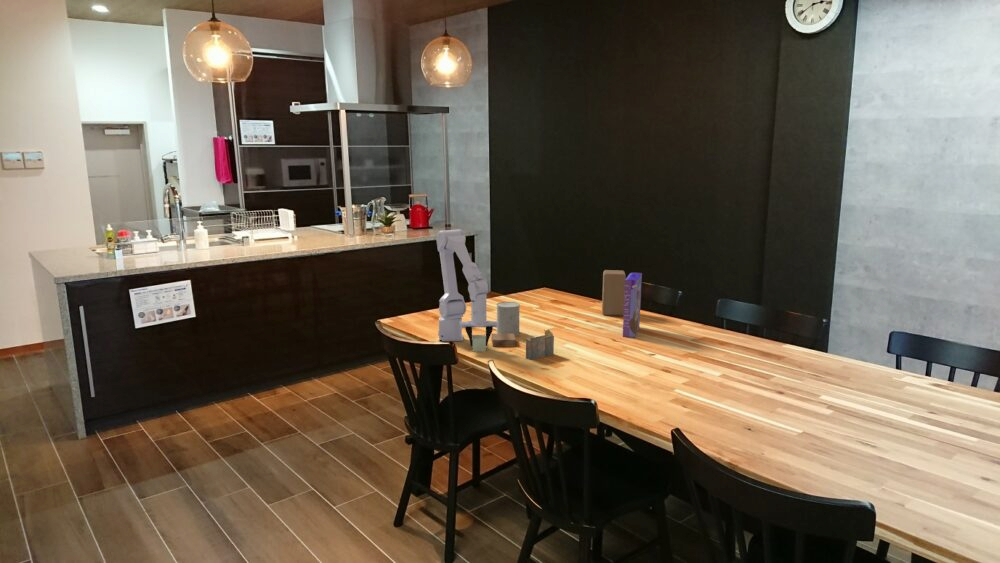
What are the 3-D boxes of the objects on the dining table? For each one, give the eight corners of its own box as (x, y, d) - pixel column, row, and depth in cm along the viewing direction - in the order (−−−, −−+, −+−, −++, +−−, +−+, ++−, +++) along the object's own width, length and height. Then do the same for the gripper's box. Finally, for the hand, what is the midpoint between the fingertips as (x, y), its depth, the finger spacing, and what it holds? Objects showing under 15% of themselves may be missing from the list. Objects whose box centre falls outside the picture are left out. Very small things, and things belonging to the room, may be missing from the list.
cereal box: (634, 337, 256) (637, 280, 252) (622, 336, 258) (625, 279, 253) (639, 327, 272) (641, 272, 268) (628, 326, 274) (630, 272, 269)
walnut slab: (492, 346, 244) (492, 340, 243) (491, 339, 253) (491, 333, 252) (515, 345, 244) (515, 339, 244) (513, 339, 253) (513, 333, 253)
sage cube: (472, 351, 237) (472, 338, 236) (472, 347, 242) (472, 334, 241) (485, 351, 238) (485, 338, 237) (485, 347, 243) (485, 334, 242)
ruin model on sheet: (548, 353, 237) (548, 328, 235) (553, 355, 234) (554, 330, 232) (525, 359, 230) (525, 333, 228) (530, 361, 227) (530, 335, 226)
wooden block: (601, 310, 302) (603, 269, 298) (623, 311, 300) (624, 270, 297) (602, 315, 292) (603, 273, 288) (624, 316, 291) (625, 273, 287)
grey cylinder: (520, 330, 266) (520, 302, 264) (518, 336, 257) (518, 307, 255) (498, 329, 268) (498, 301, 265) (495, 335, 258) (495, 306, 256)
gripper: (459, 313, 233) (460, 349, 235) (498, 313, 234) (498, 348, 236) (459, 309, 240) (459, 343, 242) (497, 308, 241) (497, 343, 243)
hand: (479, 345), depth 240 cm, fingers closed on sage cube, 5 cm apart
